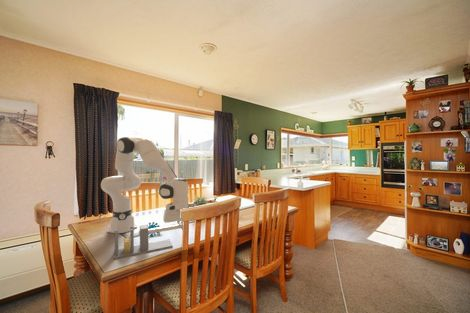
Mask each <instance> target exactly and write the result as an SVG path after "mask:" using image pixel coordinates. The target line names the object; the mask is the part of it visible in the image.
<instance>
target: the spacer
mask: <svg viewBox="0 0 470 313" xmlns="http://www.w3.org/2000/svg"><path fill="white" fill-rule="evenodd" d="M123 248H124V254H127V253H130V236H128V237H124V238H123Z"/></svg>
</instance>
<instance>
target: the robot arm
mask: <svg viewBox="0 0 470 313" xmlns="http://www.w3.org/2000/svg"><path fill="white" fill-rule="evenodd" d="M116 148H117V149H116V154H115V161H114V168H115V170H116V171H117V172H119V173H122V174H121V175H113V176H108V177H104V178H102V180H101V182H100V188H101V190H102V191H103V192H105V193H106V194H108V196H110V198H111V200H112V205H113V207H112V208H113V210H112V218H111V219H110V221H109V222H110V223H109V224H110V225H109V228H108V229H107V231H106V232H107V233H112V234H115V228H117V227H118V234H124V233H127V232H130V226H133V229H137V228H138V226H137V225H136V224H135V217H134V215H132V214H133V213H132V212H133V210H132V205H131V204H132V201H131V197H129V196H127V195H125V194H123V192H124V191H133V190H136V189H138V188H140V186H141V184H142V180H141V176H139V175H138V174H136V172H135V171H134V159H135V154H137V153H138V154H139V157H140V158H141V160H142V162H143V164H144V165H145V166H146V167H148V168H149V169H153V170H156V171H159V172H160V173H162V174H163V176H164V178H165V179H166V180H167V182H165V183H162V184H160V186H159V188H158V194H159V196H160V198H162V199H163V200H168V199H173V201H172V202H169V203H167V204H165V209H164V212H163V222H164V223H165V224H167V223H174V222H176V223H177V224H179V229H181V228H183V222H182V224H181V218H180V209H183V208H189V207H194V206H198V204H197V203H196V202H194V203H189V196H188V195H189V183H188V180H187V179H186V178H184V177H178V176H177V175H176V173H175V171H174V170H173V169H172V168H171V165H170V164H169V163H168V162H167V160H165V159H164V158H163V156H162V155H161V153H160V151H159V149H158V147H157V146H156V145H155V143H154V142H153V140H151V138H149V137H148V136H144V135H141V136H140V135H135V136H134V135H133V136H124V137H121V138H118V139H117V142H116Z"/></svg>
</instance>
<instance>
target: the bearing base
mask: <svg viewBox="0 0 470 313" xmlns="http://www.w3.org/2000/svg"><path fill="white" fill-rule="evenodd" d="M147 225H148V224H143V225H139V231H140V235H139V244H138V245H134V244H135V241H134V240H135V239H134V237H135V236H134V235H135V234H134V229H133V226H130V231H129V234H130V235H129V237H130V253H127V254H124V247H123V248H119V233H118V227H117V228H115V233H114V251H113V260H118V259H122V258H128V257H134V256H137V255H143V254H146V253H152V252H156V251H157V252H158V251H162V250H166V249H170V248H174V247H173V243H172V242H171V240H170V239H164V240H158V241H155V242H149V235H148V227H149V225H148V226H147Z"/></svg>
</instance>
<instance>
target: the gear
mask: <svg viewBox="0 0 470 313" xmlns="http://www.w3.org/2000/svg"><path fill="white" fill-rule="evenodd" d="M146 225H147V226H148V229H152V228H158V227H160V225H159V224H158V223H157V222H156V223H155V221H152V223H151V222H148V224H146ZM159 233H160V232H156V233H150V234H148V236H149V237H152V236H154V237H155V236H156V235H157V234H159Z"/></svg>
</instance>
